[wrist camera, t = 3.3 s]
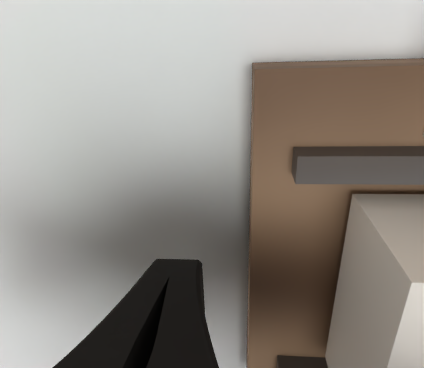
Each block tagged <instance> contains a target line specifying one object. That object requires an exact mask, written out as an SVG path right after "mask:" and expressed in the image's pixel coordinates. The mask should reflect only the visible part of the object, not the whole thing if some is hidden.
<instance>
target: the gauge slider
mask: <svg viewBox="0 0 424 368" xmlns="http://www.w3.org/2000/svg"><path fill="white" fill-rule="evenodd" d="M325 358H326V362H327V366H328V368H424V194H352V199H351V205H350V211H349V217H348V223H347V229H346V235H345V241H344V247H343V253H342V259H341V265H340V271H339V276H338V282H337V288H336V294H335V300H334V306H333V312H332V318H331V324H330V330H329V336H328V342H327V348H326V354H325Z"/></svg>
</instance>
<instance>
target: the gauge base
mask: <svg viewBox="0 0 424 368" xmlns="http://www.w3.org/2000/svg"><path fill="white" fill-rule="evenodd" d="M352 194H424V58H421V59H383V60H344V61H305V62H267V63H252V112H251V163H250V215H249V266H248V317H247V368H328V366H327V362H326V358H325V354H326V348H327V342H328V336H329V330H330V324H331V318H332V312H333V306H334V300H335V294H336V288H337V282H338V276H339V271H340V265H341V259H342V253H343V247H344V241H345V235H346V229H347V223H348V217H349V211H350V205H351V199H352Z"/></svg>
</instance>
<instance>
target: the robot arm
mask: <svg viewBox="0 0 424 368" xmlns="http://www.w3.org/2000/svg"><path fill="white" fill-rule="evenodd" d="M53 368H219V367H218V363H217V360H216V357H215V354H214V350H213V347H212V343H211V339H210V335H209V332H208V327H207V323H206V318H205V306H204V289H203V272H202V263H201V262H200V261H199V260H181V259H156V260H155V261H154V262H153V263H152V265H151V266H150V267H149V268H148V269H147V271H146V272H145V273H144V274H143V275H142V277H141V278H140V279H139V280H138V281H137V283H136V284H135V285H134V286H133V287H132V289H131V290H130V291H129V292H128V293H127V294H126V295H125V297H124V298H123V299H122V300H121V301H120V302H119V303H118V304H117V305H116V307H115V308H114V309H113V310H112V311H111V312H110V313H109V314H108V315H107V316H106V317H105V318H104V319H103V320H102V321H101V322H100V323H99V324H98V325H97V326H96V327H95V328H94V329H93V330H92V331H91V333H90V334H89V335H88V336H87V337H86V338H85V339H84V340H82V341H81V342H80V343H79V344H78V345H77V346H76V347H75V348H74V349H73V350H72V351H71V352H70V353H69V354H68V355H66V356H65V357H64V358H63V359H62V360H61V361H60V362H59V363H57V364H56V365H55V366H54V367H53Z"/></svg>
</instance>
